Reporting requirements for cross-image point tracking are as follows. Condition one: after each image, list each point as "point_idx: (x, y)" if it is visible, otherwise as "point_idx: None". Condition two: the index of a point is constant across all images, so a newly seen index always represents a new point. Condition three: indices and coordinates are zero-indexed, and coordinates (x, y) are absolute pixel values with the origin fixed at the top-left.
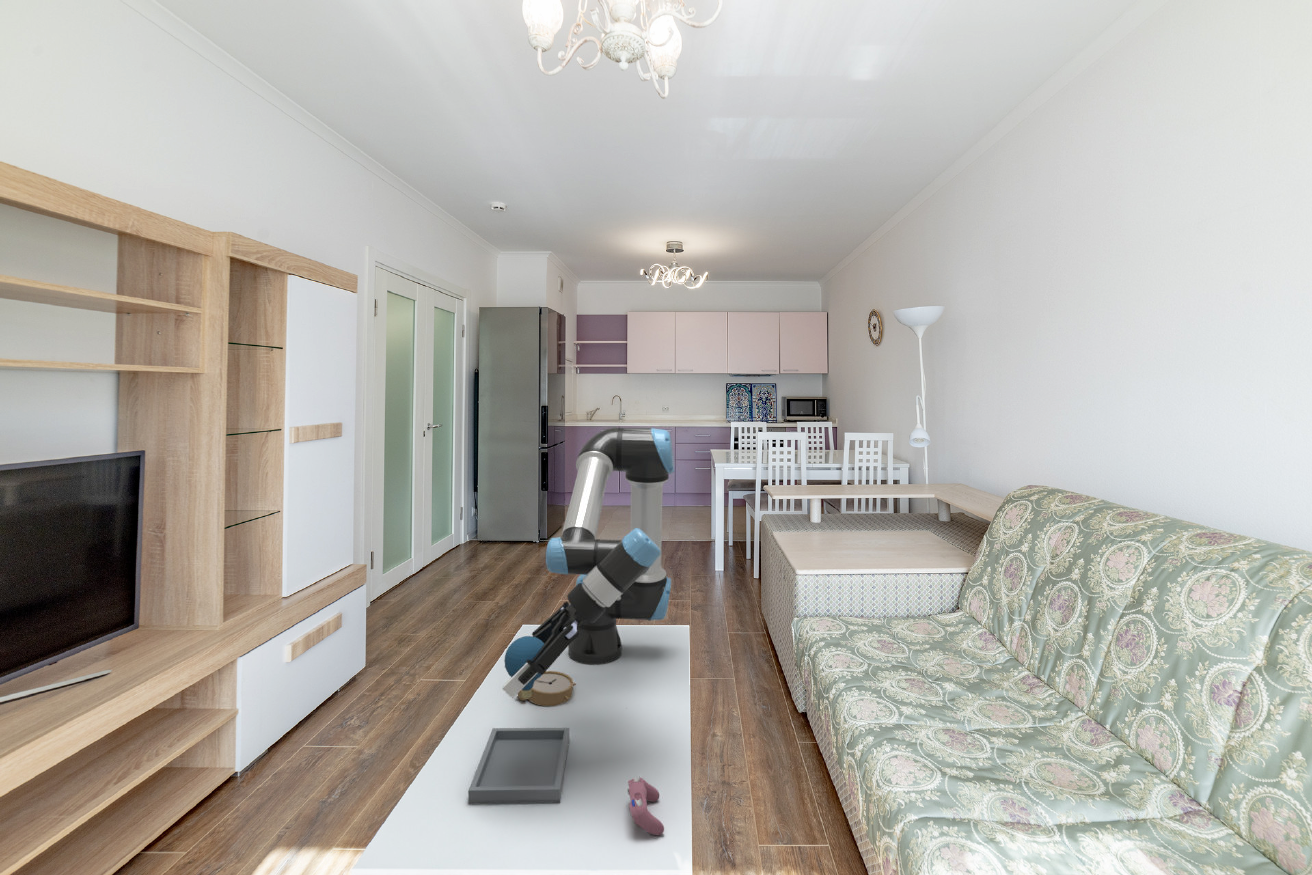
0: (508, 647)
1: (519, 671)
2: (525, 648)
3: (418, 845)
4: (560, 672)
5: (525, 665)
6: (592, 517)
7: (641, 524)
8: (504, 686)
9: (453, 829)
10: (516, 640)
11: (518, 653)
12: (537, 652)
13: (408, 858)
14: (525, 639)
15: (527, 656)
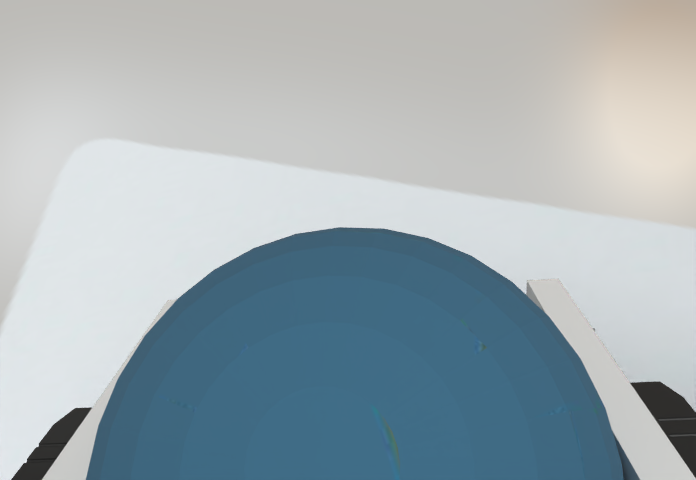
0: (378, 232)
1: (92, 408)
2: (116, 453)
3: (103, 215)
4: None
5: (54, 468)
6: None
7: None
8: (164, 310)
9: (136, 285)
10: (346, 296)
11: (131, 363)
12: None
13: (68, 204)
14: (270, 438)
15: None
